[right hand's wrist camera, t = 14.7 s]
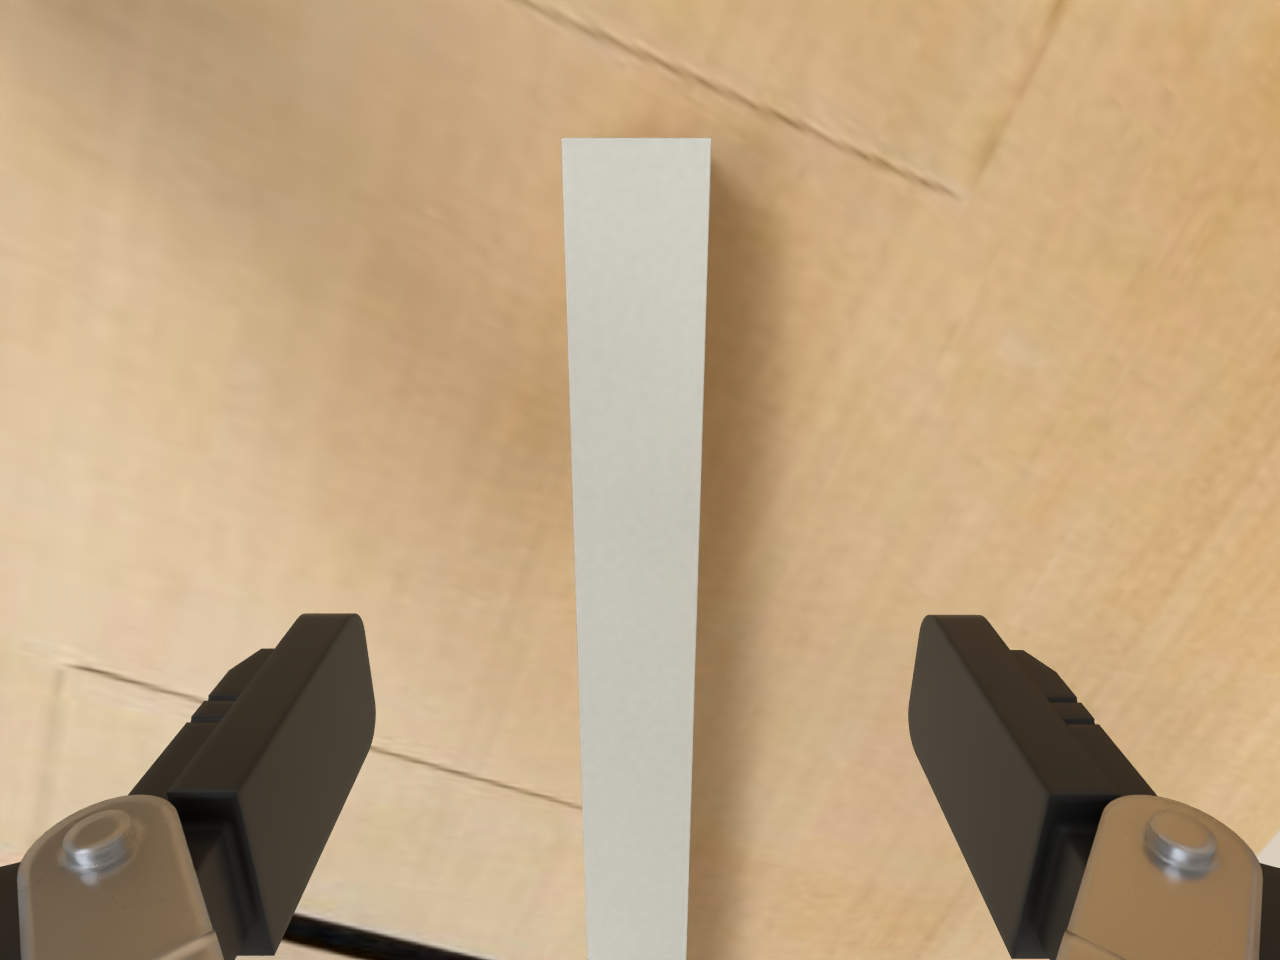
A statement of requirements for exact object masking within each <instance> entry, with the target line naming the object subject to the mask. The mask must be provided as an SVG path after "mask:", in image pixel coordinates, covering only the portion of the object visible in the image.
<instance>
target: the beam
mask: <svg viewBox="0 0 1280 960" xmlns="http://www.w3.org/2000/svg"><path fill="white" fill-rule="evenodd" d="M561 145H562V176H563V208H564V239H565V270H566V302H567V333H568V365H569V396H570V427H571V459H572V490H573V522H574V553H575V584H576V616H577V647H578V679H579V710H580V742H581V773H582V804H583V836H584V867H585V899H586V930H587V960H686V957H687V924H688V892H689V859H690V826H691V794H692V761H693V728H694V696H695V663H696V630H697V598H698V565H699V532H700V499H701V467H702V434H703V401H704V369H705V336H706V303H707V271H708V238H709V205H710V173H711V138H562V139H561Z"/></svg>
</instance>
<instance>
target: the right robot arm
mask: <svg viewBox="0 0 1280 960" xmlns="http://www.w3.org/2000/svg"><path fill="white" fill-rule="evenodd" d="M375 716H376V710H375V699H374V692H373V685H372V678H371V671H370V665H369V658H368V651H367V644H366V637H365V630H364V625H363V622H362V619H361V618H360V616H359V615H358V614H302V615H301V616H299V618H298V619H297V620H296V621H295V623H294V624H293V625H292V627H291V628H290V629H289V631H288V632H287V633H286V635H285V636H284V637H283V638H282V640H281V641H280V642H279V644H278V645H277V646H276V648H275V649H260V650H259V651H257V652H256V653H254V654H253V655H252V656H250V657H249V658H247V659H246V660H244V661H243V662H241V663H240V664H238V665H237V666H235V667H234V668H232V669H231V670H229V671H228V672H227V674H226V675H225V676H224V677H223V679H222V680H221V681H220V682H219V684H218V685H217V686H216V687H215V688H214V690H213V691H212V692H211V693H210V695H209V699H208V701H204V702H203V703H202V705H201V706H200V707H199V708H198V709H197V711H196V712H195V713H194V714H193V716H192V717H191V722H190V723H186V724H185V725H184V727H183V728H182V729H181V730H180V732H179V733H178V734H177V735H176V737H175V738H174V739H173V740H172V741H171V743H170V744H169V745H168V746H167V748H166V749H165V750H164V751H163V753H162V754H161V755H160V756H159V757H158V759H157V760H156V761H155V762H154V764H153V765H152V766H151V767H150V769H149V770H148V771H147V772H146V774H145V775H144V776H143V777H142V778H141V780H140V781H139V782H138V783H137V785H136V786H135V787H134V788H133V790H132V791H131V792H130V793H129V794H128V796H122V797H117V798H113V799H109V800H105V801H102V802H99V803H96V804H93V805H91V806H89V807H86V808H84V809H82V810H80V811H78V812H76V813H74V814H72V815H70V816H68V817H67V818H65V819H63V820H62V821H60V822H59V823H57V824H56V825H54V826H53V827H52V828H50V829H49V830H48V831H47V832H45V833H44V834H43V835H42V836H41V837H40V838H39V839H38V840H37V841H36V842H35V843H34V844H33V845H32V846H31V847H30V849H29V850H28V851H27V853H26V854H25V856H24V857H23V859H22V861H21V862H19V863H15V864H11V865H6V866H2V867H0V960H235V958H236V956H274V955H275V953H276V951H277V949H278V946H279V944H280V942H281V940H282V938H283V936H284V933H285V931H286V929H287V927H288V925H289V923H290V920H291V918H292V916H293V914H294V912H295V910H296V907H297V905H298V903H299V901H300V899H301V897H302V894H303V892H304V890H305V888H306V886H307V884H308V881H309V879H310V877H311V875H312V873H313V871H314V868H315V866H316V864H317V862H318V860H319V858H320V855H321V853H322V851H323V849H324V847H325V845H326V843H327V840H328V838H329V836H330V834H331V832H332V830H333V827H334V825H335V823H336V821H337V819H338V817H339V814H340V812H341V810H342V808H343V806H344V804H345V801H346V799H347V797H348V795H349V793H350V791H351V788H352V786H353V784H354V782H355V780H356V778H357V775H358V773H359V771H360V769H361V767H362V765H363V762H364V760H365V758H366V756H367V754H368V752H369V749H370V746H371V743H372V739H373V735H374V728H375ZM908 718H909V730H910V736H911V741H912V745H913V748H914V751H915V753H916V755H917V757H918V759H919V762H920V764H921V766H922V768H923V770H924V772H925V774H926V777H927V779H928V781H929V783H930V785H931V787H932V789H933V792H934V794H935V796H936V798H937V800H938V802H939V804H940V806H941V809H942V811H943V813H944V815H945V817H946V819H947V821H948V824H949V826H950V828H951V830H952V832H953V834H954V836H955V839H956V841H957V843H958V845H959V847H960V849H961V851H962V854H963V856H964V858H965V860H966V862H967V864H968V866H969V868H970V871H971V873H972V875H973V877H974V879H975V881H976V883H977V886H978V888H979V890H980V892H981V894H982V896H983V898H984V901H985V903H986V905H987V907H988V909H989V911H990V913H991V916H992V918H993V920H994V922H995V924H996V926H997V928H998V930H999V933H1000V935H1001V937H1002V939H1003V941H1004V943H1005V945H1006V948H1007V950H1008V952H1009V954H1010V956H1011V958H1012V959H1050V960H1280V868H1277V867H1272V866H1269V865H1265V864H1261V863H1259V861H1258V859H1257V857H1256V856H1255V854H1254V853H1253V851H1252V850H1251V849H1250V847H1249V846H1248V845H1247V844H1246V843H1245V842H1244V841H1243V840H1242V839H1241V838H1240V837H1239V836H1238V835H1237V834H1236V833H1235V832H1233V831H1232V830H1231V829H1230V828H1228V827H1227V826H1226V825H1224V824H1223V823H1221V822H1220V821H1218V820H1217V819H1215V818H1213V817H1212V816H1210V815H1208V814H1206V813H1204V812H1202V811H1200V810H1198V809H1196V808H1194V807H1191V806H1189V805H1187V804H1184V803H1181V802H1178V801H1175V800H1171V799H1167V798H1163V797H1158V796H1157V795H1156V794H1155V792H1154V791H1153V790H1152V789H1151V788H1150V786H1149V785H1148V784H1147V783H1146V781H1145V780H1144V779H1143V778H1142V777H1141V775H1140V774H1139V773H1138V772H1137V770H1136V769H1135V768H1134V767H1133V766H1132V764H1131V763H1130V762H1129V761H1128V759H1127V758H1126V757H1125V756H1124V755H1123V753H1122V752H1121V751H1120V750H1119V748H1118V747H1117V746H1116V745H1115V744H1114V742H1113V741H1112V740H1111V739H1110V738H1109V736H1108V735H1107V734H1106V733H1105V731H1104V730H1103V729H1102V728H1101V727H1100V725H1095V723H1094V718H1093V717H1092V716H1091V714H1090V713H1089V712H1088V711H1087V709H1086V708H1085V707H1084V706H1083V705H1082V703H1077V697H1076V696H1075V695H1074V694H1073V692H1072V691H1071V690H1070V689H1069V687H1068V686H1067V685H1066V684H1065V683H1064V681H1063V680H1062V679H1061V678H1060V676H1059V675H1058V674H1057V673H1056V672H1055V671H1054V670H1052V669H1051V668H1049V667H1048V666H1046V665H1045V664H1043V663H1042V662H1040V661H1039V660H1037V659H1036V658H1034V657H1033V656H1031V655H1030V654H1028V653H1027V652H1025V651H1024V650H1010V649H1009V648H1008V647H1007V645H1006V644H1005V643H1004V641H1003V640H1002V639H1001V638H1000V636H999V635H998V634H997V632H996V631H995V630H994V628H993V627H992V626H991V624H990V623H989V622H988V620H987V619H986V618H985V617H983V616H982V615H927V616H926V617H925V618H924V619H923V621H922V624H921V627H920V633H919V639H918V646H917V653H916V660H915V667H914V674H913V680H912V687H911V694H910V701H909V712H908Z"/></svg>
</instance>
